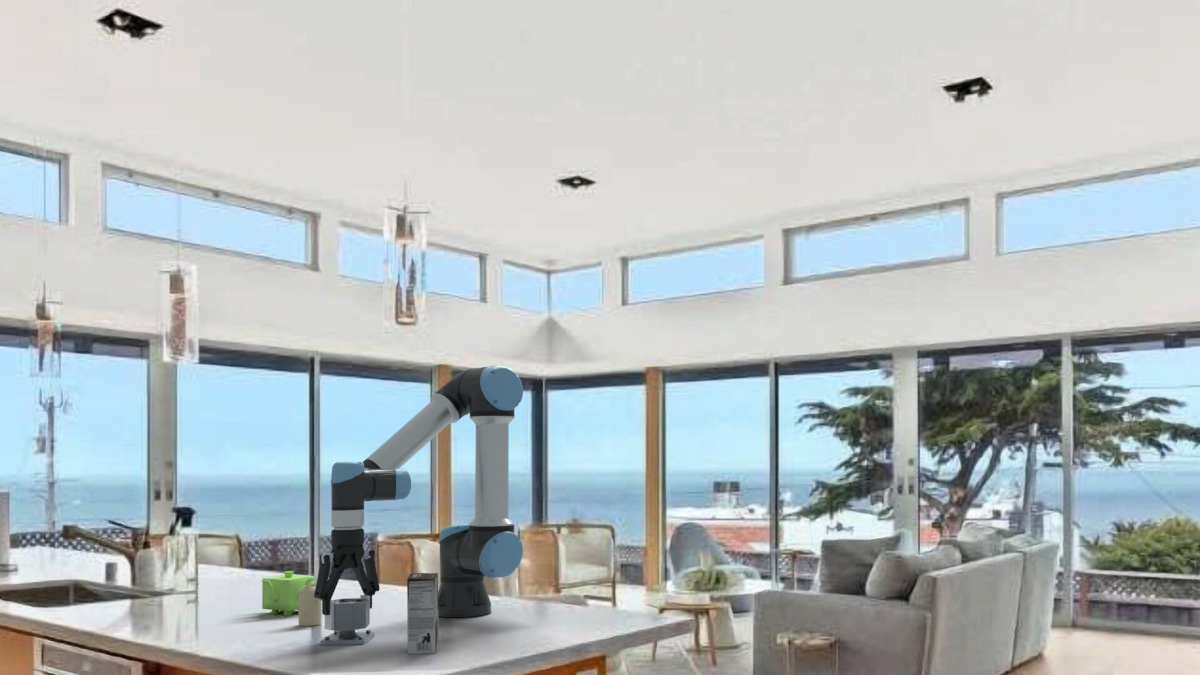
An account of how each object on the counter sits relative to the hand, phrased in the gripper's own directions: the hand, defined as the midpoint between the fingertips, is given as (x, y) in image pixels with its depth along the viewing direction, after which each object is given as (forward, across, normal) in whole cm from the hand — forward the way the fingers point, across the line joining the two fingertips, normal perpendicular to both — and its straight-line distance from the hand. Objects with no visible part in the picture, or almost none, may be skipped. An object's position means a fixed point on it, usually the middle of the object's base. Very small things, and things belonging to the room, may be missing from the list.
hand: (347, 626), depth 251 cm
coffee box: (+3, -4, +24) cm, 24 cm away
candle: (+3, -8, -28) cm, 29 cm away
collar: (0, 0, 0) cm, 0 cm away
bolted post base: (+3, 0, 0) cm, 3 cm away
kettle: (+3, -15, -50) cm, 52 cm away
